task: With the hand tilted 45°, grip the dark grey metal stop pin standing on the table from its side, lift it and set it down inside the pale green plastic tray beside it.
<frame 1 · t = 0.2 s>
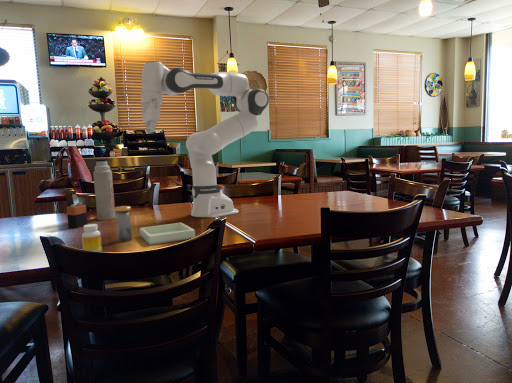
hand: (150, 132, 164), 39 cm above the table, tool pointing down, fingers open, 8 cm apart
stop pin: (125, 240, 136), on the table
thermos bottle: (106, 218, 180), on the table
tray: (167, 236, 139), on the table
supplement bottle: (93, 255, 118), on the table
battery: (78, 226, 163), on the table
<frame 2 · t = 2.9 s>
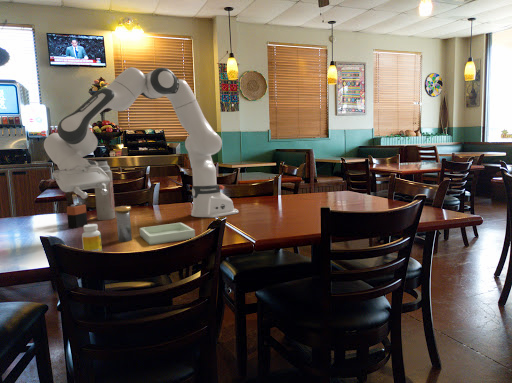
hand: (96, 195, 139), 16 cm above the table, tool tilted 45°, fingers open, 8 cm apart
nothing on the table moved.
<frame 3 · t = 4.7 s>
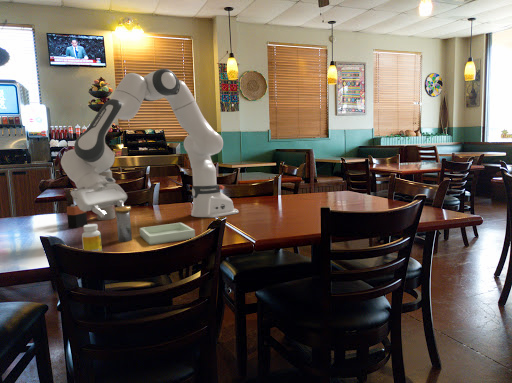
hand: (114, 213, 137), 9 cm above the table, tool tilted 45°, fingers open, 8 cm apart
nothing on the table moved.
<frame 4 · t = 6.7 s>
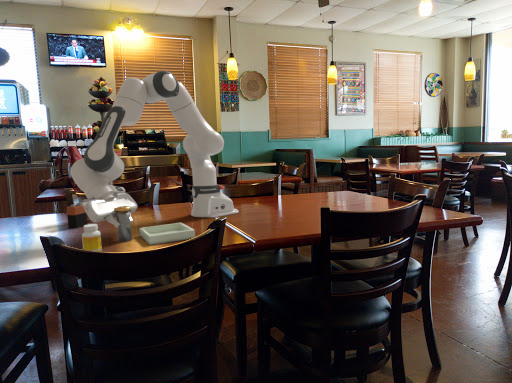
hand: (125, 224, 135), 6 cm above the table, tool tilted 45°, fingers closed on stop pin, 5 cm apart
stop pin: (125, 240, 136), on the table, touching gripper
everything else where it was.
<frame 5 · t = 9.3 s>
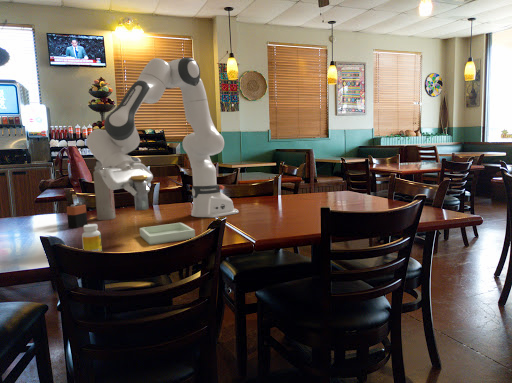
hand: (142, 192, 135), 17 cm above the table, tool tilted 45°, fingers closed on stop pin, 5 cm apart
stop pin: (142, 209, 136), point 11 cm above the table, touching gripper
everything else where it was.
when the fingers open (8 cm above the table, at t = 12.2 s): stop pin drops 1 cm, resting on tray.
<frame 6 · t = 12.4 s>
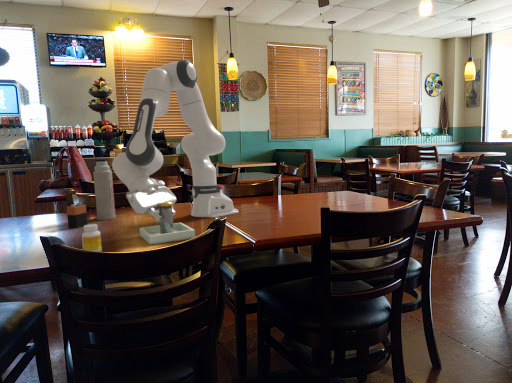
hand: (167, 216, 138), 8 cm above the table, tool tilted 45°, fingers open, 6 cm apart
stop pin: (167, 235, 139), point 1 cm above the table, touching tray
everything else where it was.
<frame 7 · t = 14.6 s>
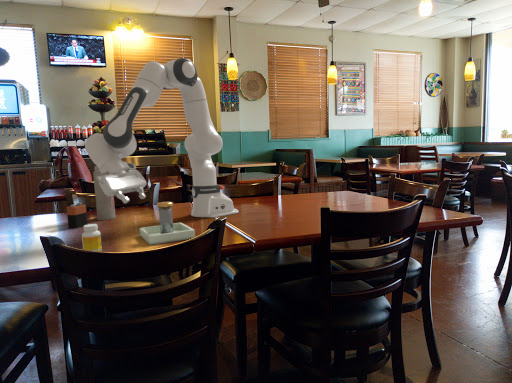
hand: (135, 200, 142), 13 cm above the table, tool tilted 40°, fingers open, 8 cm apart
nothing on the table moved.
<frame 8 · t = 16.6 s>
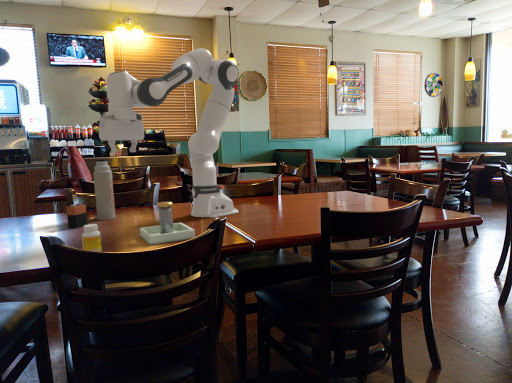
hand: (124, 152, 145), 31 cm above the table, tool pointing down, fingers open, 8 cm apart
nothing on the table moved.
at the end: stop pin inside the target area on the tray (0.0 cm from its centre), point 0.6 cm above the tray's base; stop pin tilted 0°; the gripper is holding nothing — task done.
